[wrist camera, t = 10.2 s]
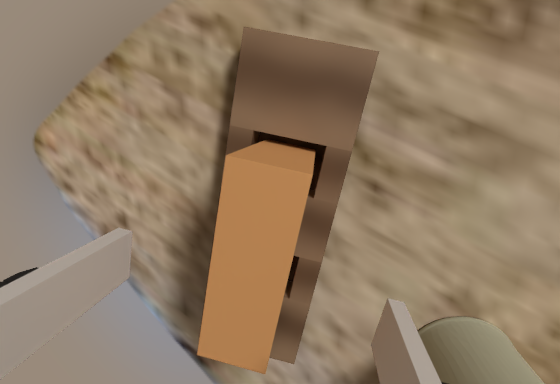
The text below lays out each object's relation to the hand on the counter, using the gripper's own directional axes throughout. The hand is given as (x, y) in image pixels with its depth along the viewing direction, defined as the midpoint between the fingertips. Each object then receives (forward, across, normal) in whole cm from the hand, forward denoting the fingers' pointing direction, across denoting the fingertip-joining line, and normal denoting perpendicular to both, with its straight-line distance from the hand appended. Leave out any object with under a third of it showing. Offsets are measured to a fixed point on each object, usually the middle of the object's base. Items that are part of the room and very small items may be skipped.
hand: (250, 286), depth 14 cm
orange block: (+11, 0, -1) cm, 11 cm away
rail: (+11, 0, 0) cm, 11 cm away
